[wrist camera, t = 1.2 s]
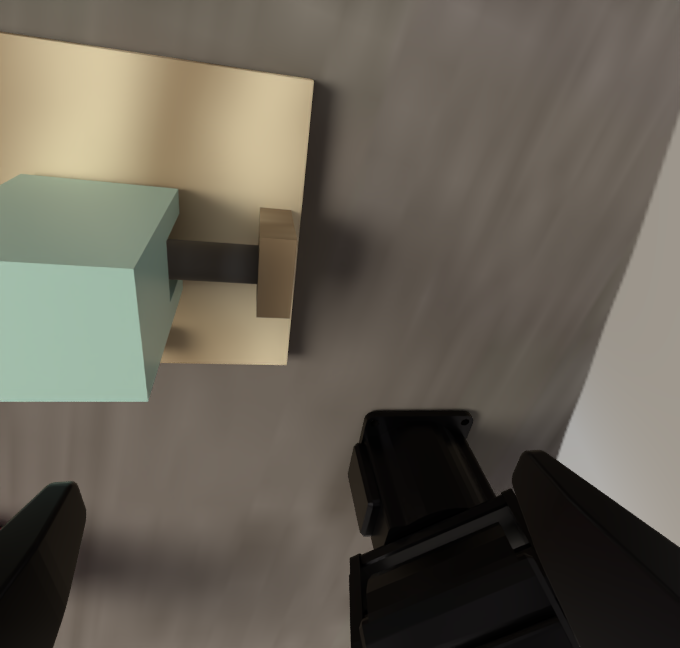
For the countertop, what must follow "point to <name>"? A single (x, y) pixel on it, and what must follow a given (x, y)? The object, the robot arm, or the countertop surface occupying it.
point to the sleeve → (84, 288)
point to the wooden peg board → (178, 173)
